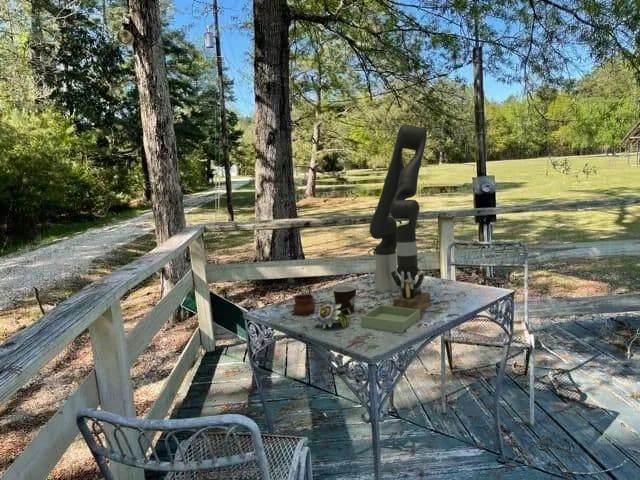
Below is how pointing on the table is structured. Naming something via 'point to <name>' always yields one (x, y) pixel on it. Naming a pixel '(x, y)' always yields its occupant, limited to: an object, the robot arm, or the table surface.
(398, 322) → the pin tray
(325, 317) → the passion flower
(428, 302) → the block
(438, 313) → the table surface
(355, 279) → the table surface
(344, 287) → the coffee mug
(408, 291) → the pin
